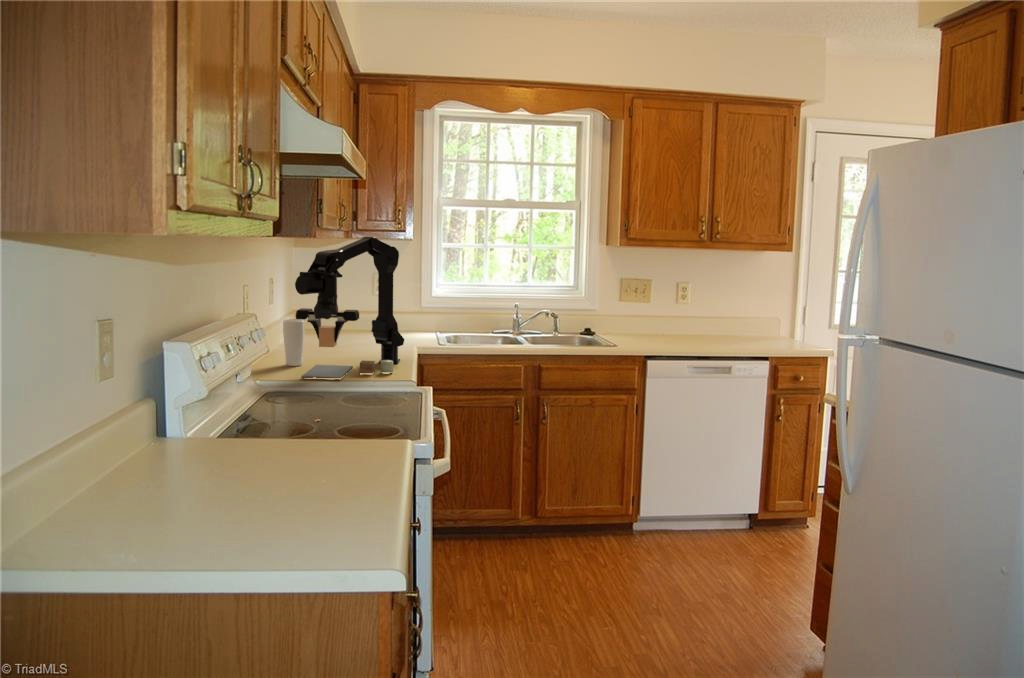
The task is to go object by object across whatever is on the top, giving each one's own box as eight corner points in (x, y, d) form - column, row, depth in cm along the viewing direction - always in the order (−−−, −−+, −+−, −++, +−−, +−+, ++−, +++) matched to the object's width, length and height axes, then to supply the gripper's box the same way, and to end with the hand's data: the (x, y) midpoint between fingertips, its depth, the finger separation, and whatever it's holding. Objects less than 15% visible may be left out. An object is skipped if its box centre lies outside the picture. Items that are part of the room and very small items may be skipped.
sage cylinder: (381, 371, 256) (381, 359, 255) (394, 372, 256) (394, 360, 255) (379, 374, 252) (379, 362, 251) (392, 374, 252) (392, 362, 251)
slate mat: (316, 367, 259) (316, 364, 259) (352, 368, 259) (352, 365, 259) (301, 379, 241) (301, 376, 241) (340, 380, 241) (340, 377, 241)
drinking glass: (282, 363, 263) (281, 319, 261) (302, 362, 266) (302, 318, 264) (285, 367, 257) (284, 322, 255) (306, 366, 260) (306, 321, 258)
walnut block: (361, 372, 254) (362, 360, 253) (374, 373, 254) (374, 360, 253) (359, 375, 250) (359, 362, 249) (372, 375, 250) (372, 363, 249)
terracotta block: (322, 344, 251) (322, 325, 250) (336, 344, 251) (336, 326, 250) (319, 346, 246) (318, 327, 245) (333, 347, 246) (333, 328, 245)
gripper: (290, 294, 238) (291, 345, 240) (352, 296, 238) (352, 347, 240) (300, 290, 249) (300, 339, 251) (359, 292, 249) (359, 341, 251)
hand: (328, 341), depth 248 cm, fingers closed on terracotta block, 4 cm apart
